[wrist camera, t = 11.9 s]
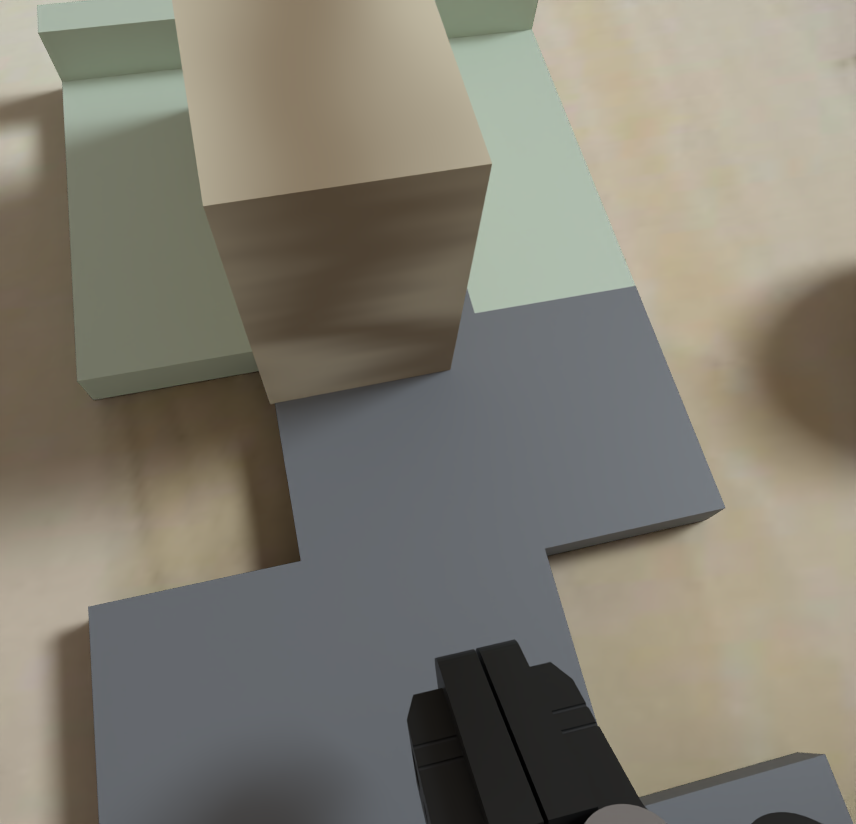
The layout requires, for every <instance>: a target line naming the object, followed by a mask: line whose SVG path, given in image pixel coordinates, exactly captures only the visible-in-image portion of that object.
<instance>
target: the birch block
mask: <svg viewBox="0 0 856 824" xmlns="http://www.w3.org/2000/svg"><path fill="white" fill-rule="evenodd" d="M172 4H173V11H174V17H175V24H176V30H177V37H178V44H179V50H180V57H181V64H182V70H183V77H184V83H185V90H186V97H187V103H188V110H189V116H190V123H191V130H192V136H193V143H194V150H195V156H196V163H197V169H198V176H199V183H200V189H201V196H202V202H203V207H204V210H205V213H206V216H207V219H208V222H209V225H210V228H211V231H212V234H213V237H214V240H215V243H216V246H217V249H218V252H219V255H220V258H221V261H222V264H223V267H224V270H225V272H226V275H227V278H228V281H229V284H230V287H231V290H232V293H233V296H234V299H235V302H236V305H237V308H238V311H239V314H240V317H241V320H242V323H243V326H244V329H245V332H246V335H247V337H248V340H249V343H250V346H251V349H252V352H253V355H254V358H255V361H256V364H257V367H258V370H259V373H260V376H261V379H262V382H263V385H264V388H265V391H266V394H267V397H268V400H269V403H270V404H273V403H279V402H284V401H289V400H294V399H300V398H305V397H310V396H315V395H320V394H326V393H331V392H336V391H341V390H347V389H352V388H357V387H362V386H368V385H373V384H378V383H383V382H389V381H394V380H399V379H404V378H410V377H415V376H420V375H425V374H431V373H436V372H441V371H446V370H450V369H451V365H452V360H453V355H454V350H455V345H456V340H457V335H458V330H459V325H460V320H461V315H462V310H463V305H464V300H465V295H466V291H467V286H468V281H469V276H470V271H471V266H472V261H473V256H474V251H475V246H476V241H477V236H478V231H479V226H480V221H481V217H482V212H483V207H484V202H485V197H486V192H487V187H488V182H489V177H490V172H491V167H492V162H491V159H490V156H489V153H488V150H487V147H486V145H485V142H484V139H483V136H482V133H481V130H480V128H479V125H478V122H477V119H476V116H475V113H474V111H473V108H472V105H471V102H470V99H469V96H468V94H467V91H466V88H465V85H464V82H463V79H462V77H461V74H460V71H459V68H458V65H457V62H456V60H455V57H454V54H453V51H452V48H451V45H450V43H449V40H448V37H447V34H446V31H445V28H444V26H443V23H442V20H441V17H440V14H439V11H438V8H437V6H436V3H435V0H172Z"/></svg>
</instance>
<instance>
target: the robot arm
mask: <svg viewBox="0 0 856 824" xmlns="http://www.w3.org/2000/svg"><path fill="white" fill-rule="evenodd" d="M435 669H436V677H437V684H438V689H435V690H431V691H427V692H423V693H418V694H414V695H413V697H412V701H411V705H410V709H409V713H408V717H407V725H408V731H409V738H410V744H411V750H412V757H413V763H414V769H415V776H416V782H417V787H418V791H419V796H420V800H421V805H422V809H423V813H424V818H425V822H426V824H667V823H666V822H665V821H664V820H663V819H662V818H660V817H659V816H658V815H656V814H655V813H653V812H651V811H649V810H648V809H647V808H646V807H645V806H644V805H643V803H642V802H641V800H640V799H639V797H638V795H637V794H636V792H635V790H634V788H633V786H632V785H631V783H630V781H629V779H628V777H627V776H626V774H625V772H624V770H623V768H622V767H621V765H620V763H619V761H618V759H617V758H616V756H615V754H614V752H613V750H612V749H611V747H610V745H609V743H608V742H607V740H606V738H605V736H604V734H603V733H602V731H601V729H600V727H599V726H597V723H596V720H595V718H594V716H593V715H592V713H591V711H590V709H589V707H587V706H586V702H585V700H584V698H583V697H582V695H581V693H580V691H579V689H578V688H577V686H576V684H575V682H574V681H573V679H572V678H571V677H569V676H568V675H567V674H565V673H564V672H563V671H562V670H560V669H559V668H558V667H557V666H555V665H554V664H553V663H552V662H548V663H544V664H539V665H535V666H531V667H530V666H529V664H528V662H527V660H526V658H525V656H524V654H523V652H522V650H521V648H520V646H519V644H518V642H517V641H516V640H515V639H514V640H509V641H505V642H501V643H496V644H492V645H488V646H483V647H479V648H476V651H475V650H474V649H471V650H467V651H463V652H458V653H454V654H450V655H445V656H441V657H437V658H435ZM752 824H822V823H820V822H818V821H816V820H813V819H811V818H808V817H806V816H803V815H799V814H796V813H789V812H775V813H769V814H766V815H763V816H761V817H759V818H757V819H756V820H755V821H754V822H753V823H752Z"/></svg>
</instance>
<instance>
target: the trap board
mask: <svg viewBox="0 0 856 824" xmlns="http://www.w3.org/2000/svg"><path fill="white" fill-rule="evenodd" d="M435 3H436V6H437V8H438V11H439V14H440V17H441V20H442V23H443V26H444V28H445V31H446V34H447V37H448V40H449V43H450V45H451V48H452V51H453V54H454V57H455V60H456V62H457V65H458V68H459V71H460V74H461V77H462V79H463V82H464V85H465V88H466V91H467V94H468V96H469V99H470V102H471V105H472V108H473V111H474V113H475V116H476V119H477V122H478V125H479V128H480V130H481V133H482V136H483V139H484V142H485V145H486V147H487V150H488V153H489V156H490V159H491V162H492V167H491V172H490V177H489V182H488V187H487V192H486V197H485V202H484V207H483V212H482V217H481V221H480V226H479V231H478V236H477V241H476V246H475V251H474V256H473V261H472V266H471V271H470V276H469V281H468V286H467V291H466V295H465V300H464V305H463V310H462V315H461V320H460V325H459V330H458V335H457V340H456V345H455V350H454V355H453V360H452V365H451V369H450V370H446V371H441V372H436V373H431V374H425V375H420V376H415V377H410V378H404V379H399V380H394V381H389V382H383V383H378V384H373V385H368V386H362V387H357V388H352V389H347V390H341V391H336V392H331V393H326V394H320V395H315V396H310V397H305V398H300V399H294V400H289V401H284V402H279V403H275V407H276V413H277V419H278V426H279V432H280V438H281V444H282V450H283V456H284V462H285V468H286V474H287V480H288V486H289V492H290V498H291V504H292V510H293V516H294V522H295V528H296V535H297V541H298V547H299V553H300V559H301V561H298V562H294V563H289V564H284V565H280V566H275V567H271V568H266V569H261V570H257V571H252V572H247V573H243V574H238V575H234V576H229V577H224V578H220V579H215V580H210V581H206V582H201V583H196V584H192V585H187V586H183V587H178V588H173V589H169V590H164V591H159V592H155V593H150V594H146V595H141V596H136V597H132V598H127V599H122V600H118V601H113V602H108V603H104V604H99V605H95V606H90V607H88V611H89V632H90V652H91V672H92V692H93V712H94V732H95V752H96V772H97V793H98V813H99V824H426V822H425V818H424V813H423V809H422V805H421V800H420V796H419V791H418V787H417V782H416V776H415V769H414V763H413V757H412V750H411V744H410V738H409V731H408V725H407V717H408V713H409V709H410V705H411V701H412V697H413V695H414V694H418V693H423V692H427V691H431V690H435V689H438V684H437V677H436V669H435V658H437V657H441V656H445V655H450V654H454V653H458V652H463V651H467V650H471V649H474V650H475V651H476V648H479V647H483V646H488V645H492V644H496V643H501V642H505V641H509V640H514V639H515V640H516V641H517V642H518V644H519V646H520V648H521V650H522V652H523V654H524V656H525V658H526V660H527V662H528V664H529V666H530V667H531V666H535V665H539V664H544V663H548V662H552V663H553V664H554V665H555V666H557V667H558V668H559V669H560V670H562V671H563V672H564V673H565V674H567V675H568V676H569V677H571V678H572V679H573V681H574V682H575V684H576V686H577V688H578V689H579V691H580V693H581V695H582V697H583V698H584V700H585V702H586V706H587V707H589V709H590V711H591V713H592V715H593V716H594V718H595V715H594V712H593V709H592V705H591V702H590V699H589V695H588V692H587V688H586V685H585V682H584V678H583V675H582V672H581V668H580V665H579V662H578V658H577V655H576V652H575V648H574V645H573V641H572V638H571V635H570V631H569V628H568V625H567V621H566V618H565V615H564V611H563V608H562V605H561V601H560V598H559V595H558V591H557V588H556V584H555V581H554V578H553V574H552V571H551V568H550V564H549V561H548V558H547V556H549V555H553V554H557V553H562V552H566V551H571V550H575V549H580V548H584V547H588V546H593V545H597V544H602V543H606V542H610V541H615V540H619V539H624V538H628V537H633V536H637V535H641V534H646V533H650V532H655V531H659V530H663V529H668V528H672V527H677V526H681V525H686V524H690V523H694V522H699V521H703V520H707V519H708V518H710V517H712V516H713V515H715V514H716V513H718V512H720V511H721V510H723V509H724V508H725V506H724V503H723V501H722V498H721V496H720V493H719V491H718V488H717V486H716V484H715V481H714V479H713V476H712V474H711V471H710V469H709V466H708V464H707V461H706V459H705V456H704V454H703V451H702V449H701V446H700V444H699V442H698V439H697V437H696V434H695V432H694V429H693V427H692V424H691V422H690V419H689V417H688V414H687V412H686V409H685V407H684V404H683V402H682V400H681V397H680V395H679V392H678V390H677V387H676V385H675V382H674V380H673V377H672V375H671V372H670V370H669V367H668V365H667V362H666V360H665V358H664V355H663V353H662V350H661V348H660V345H659V343H658V340H657V338H656V335H655V333H654V330H653V328H652V325H651V323H650V320H649V318H648V316H647V313H646V311H645V308H644V306H643V303H642V301H641V298H640V296H639V293H638V291H637V288H636V286H635V283H634V281H633V278H632V276H631V273H630V271H629V269H628V266H627V264H626V261H625V259H624V256H623V254H622V251H621V249H620V246H619V244H618V241H617V239H616V236H615V234H614V231H613V229H612V227H611V224H610V222H609V219H608V217H607V214H606V212H605V209H604V207H603V204H602V202H601V199H600V197H599V194H598V192H597V189H596V187H595V185H594V182H593V180H592V177H591V175H590V172H589V170H588V167H587V165H586V162H585V160H584V157H583V155H582V152H581V150H580V147H579V145H578V143H577V140H576V138H575V135H574V133H573V130H572V128H571V125H570V123H569V120H568V118H567V115H566V113H565V110H564V108H563V105H562V103H561V101H560V98H559V96H558V93H557V91H556V88H555V86H554V83H553V81H552V78H551V76H550V73H549V71H548V68H547V66H546V63H545V61H544V58H543V56H542V54H541V51H540V49H539V46H538V44H537V41H536V39H535V36H534V34H533V31H532V26H533V21H534V17H535V12H536V8H537V3H538V0H435ZM37 17H38V34H39V36H40V38H41V40H42V42H43V44H44V46H45V48H46V50H47V52H48V54H49V56H50V58H51V60H52V62H53V64H54V66H55V68H56V70H57V72H58V74H59V76H60V78H61V80H62V88H63V108H64V129H65V149H66V169H67V189H68V209H69V229H70V249H71V269H72V289H73V310H74V330H75V350H76V370H77V382H78V383H79V384H80V385H81V386H82V388H83V389H84V390H85V391H86V392H87V393H88V394H89V396H90V397H91V398H92V399H93V400H96V399H102V398H108V397H114V396H119V395H125V394H131V393H136V392H142V391H148V390H153V389H159V388H165V387H171V386H176V385H182V384H188V383H193V382H199V381H205V380H211V379H216V378H222V377H228V376H233V375H239V374H245V373H251V372H256V371H259V370H258V367H257V364H256V361H255V358H254V355H253V352H252V349H251V346H250V343H249V340H248V337H247V335H246V332H245V329H244V326H243V323H242V320H241V317H240V314H239V311H238V308H237V305H236V302H235V299H234V296H233V293H232V290H231V287H230V284H229V281H228V278H227V275H226V272H225V270H224V267H223V264H222V261H221V258H220V255H219V252H218V249H217V246H216V243H215V240H214V237H213V234H212V231H211V228H210V225H209V222H208V219H207V216H206V213H205V210H204V207H203V202H202V196H201V189H200V183H199V176H198V169H197V163H196V156H195V150H194V143H193V136H192V130H191V123H190V116H189V110H188V103H187V97H186V90H185V83H184V77H183V70H182V64H181V57H180V50H179V44H178V37H177V30H176V24H175V17H174V11H173V4H172V0H87V1H77V2H66V3H56V4H46V5H37ZM595 720H596V719H595ZM596 723H597V722H596ZM597 726H598V725H597ZM639 799H640V800H641V802H642V803H643V805H644V806H645V807H646V808H647V809H648V810H649V811H651V812H653V813H655V814H656V815H658V816H659V817H660V818H662V819H663V820H664V821H665V822H666V823H667V824H752V823H753V822H754V821H755V820H756V819H757V818H759V817H761V816H763V815H766V814H769V813H775V812H789V813H796V814H799V815H803V816H806V817H808V818H811V819H813V820H816V821H818V822H820V823H822V824H853V822H852V820H851V817H850V815H849V812H848V810H847V807H846V805H845V802H844V800H843V797H842V795H841V792H840V790H839V788H838V785H837V783H836V780H835V778H834V775H833V773H832V770H831V768H830V765H829V763H828V760H827V758H826V755H825V754H813V753H798V752H797V753H794V754H790V755H787V756H783V757H780V758H776V759H773V760H769V761H766V762H762V763H759V764H755V765H752V766H748V767H745V768H741V769H737V770H734V771H730V772H727V773H723V774H720V775H716V776H713V777H709V778H706V779H702V780H699V781H695V782H692V783H688V784H685V785H681V786H678V787H674V788H671V789H667V790H664V791H660V792H657V793H653V794H650V795H646V796H643V797H639Z"/></svg>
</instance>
